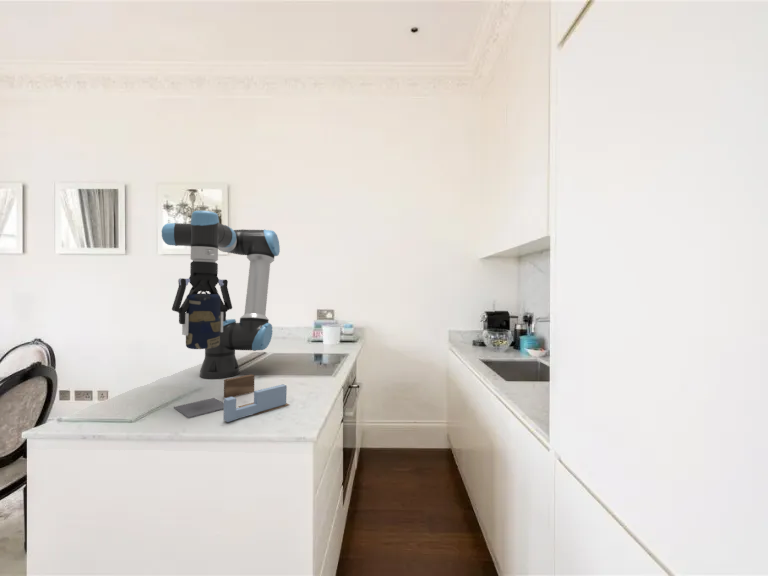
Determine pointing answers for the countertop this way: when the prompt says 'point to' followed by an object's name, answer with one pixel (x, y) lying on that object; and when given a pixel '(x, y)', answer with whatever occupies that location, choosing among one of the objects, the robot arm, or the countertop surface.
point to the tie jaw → (256, 402)
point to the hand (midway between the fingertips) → (203, 333)
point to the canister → (203, 321)
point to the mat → (200, 407)
